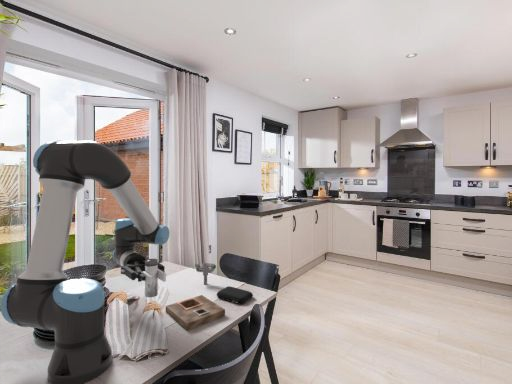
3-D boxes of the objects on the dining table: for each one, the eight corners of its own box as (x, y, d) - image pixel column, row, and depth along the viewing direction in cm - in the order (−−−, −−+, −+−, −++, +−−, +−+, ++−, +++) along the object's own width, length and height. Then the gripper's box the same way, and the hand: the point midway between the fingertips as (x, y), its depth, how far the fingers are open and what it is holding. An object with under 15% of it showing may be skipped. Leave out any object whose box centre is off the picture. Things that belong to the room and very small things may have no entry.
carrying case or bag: (212, 299, 124) (241, 307, 116) (212, 292, 124) (241, 300, 116) (227, 290, 133) (254, 298, 126) (227, 284, 133) (254, 291, 125)
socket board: (186, 330, 98) (186, 322, 98) (165, 312, 111) (165, 305, 111) (225, 315, 109) (225, 308, 109) (201, 300, 122) (201, 294, 121)
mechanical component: (196, 281, 142) (196, 262, 142) (216, 283, 140) (216, 263, 140) (194, 284, 140) (194, 264, 139) (214, 286, 138) (214, 265, 137)
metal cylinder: (147, 298, 95) (147, 262, 94) (143, 294, 98) (143, 259, 97) (159, 295, 97) (159, 260, 97) (154, 291, 100) (154, 257, 100)
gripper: (155, 267, 116) (181, 284, 99) (109, 276, 105) (130, 297, 88) (154, 249, 116) (181, 262, 99) (109, 256, 105) (130, 273, 87)
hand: (157, 279), depth 93 cm, fingers closed on metal cylinder, 4 cm apart
